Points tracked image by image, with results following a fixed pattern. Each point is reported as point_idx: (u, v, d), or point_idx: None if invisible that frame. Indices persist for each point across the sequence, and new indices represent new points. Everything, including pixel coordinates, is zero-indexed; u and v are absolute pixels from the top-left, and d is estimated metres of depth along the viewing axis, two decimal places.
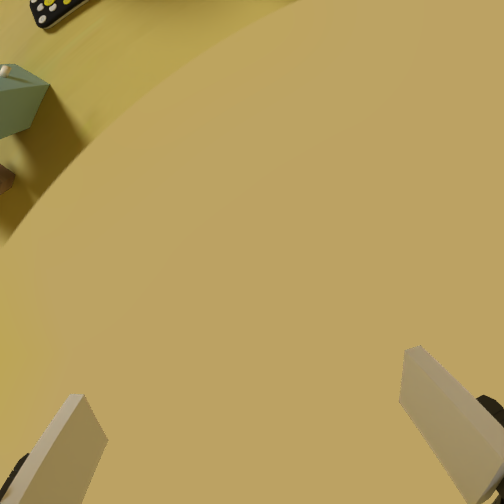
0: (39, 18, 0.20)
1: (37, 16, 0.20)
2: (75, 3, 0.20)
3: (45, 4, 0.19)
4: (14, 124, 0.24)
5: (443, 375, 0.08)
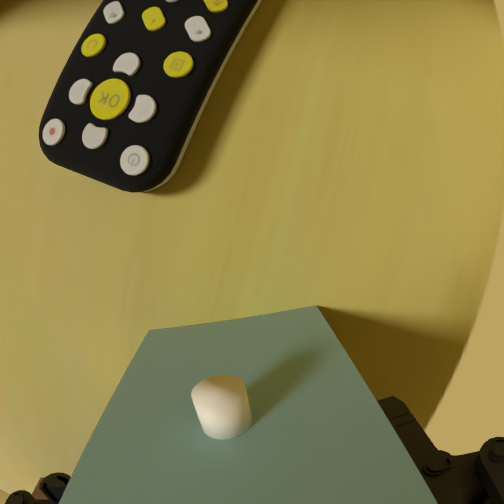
0: (120, 164, 0.09)
1: (106, 165, 0.09)
2: (216, 60, 0.09)
3: (105, 120, 0.09)
4: None
5: None
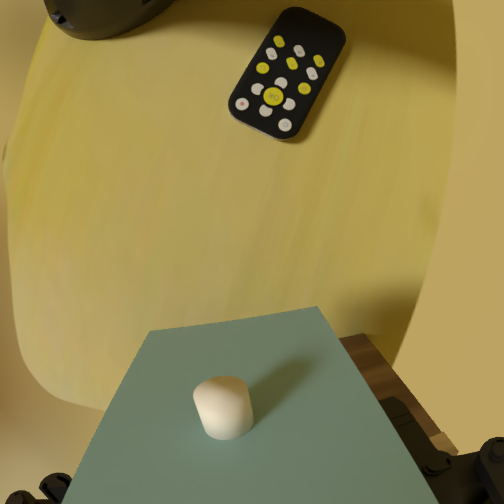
0: (278, 125, 0.23)
1: (271, 124, 0.23)
2: (318, 89, 0.22)
3: (270, 105, 0.22)
4: None
5: None
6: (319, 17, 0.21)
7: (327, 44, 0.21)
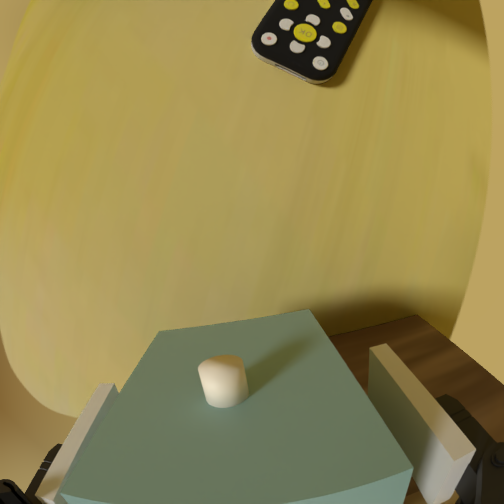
0: (312, 63, 0.17)
1: (303, 62, 0.17)
2: (355, 30, 0.17)
3: (302, 42, 0.17)
4: None
5: (404, 373, 0.09)
6: None
7: None
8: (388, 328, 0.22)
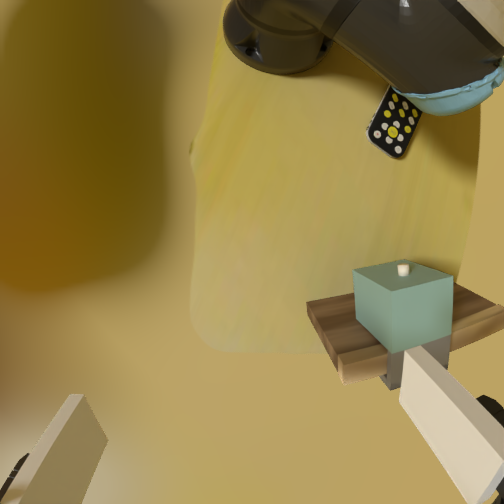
0: (395, 149, 0.37)
1: (391, 148, 0.37)
2: None
3: (391, 137, 0.37)
4: None
5: (443, 375, 0.08)
6: None
7: None
8: None
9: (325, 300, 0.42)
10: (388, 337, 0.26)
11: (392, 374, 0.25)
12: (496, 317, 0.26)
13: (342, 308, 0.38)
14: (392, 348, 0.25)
